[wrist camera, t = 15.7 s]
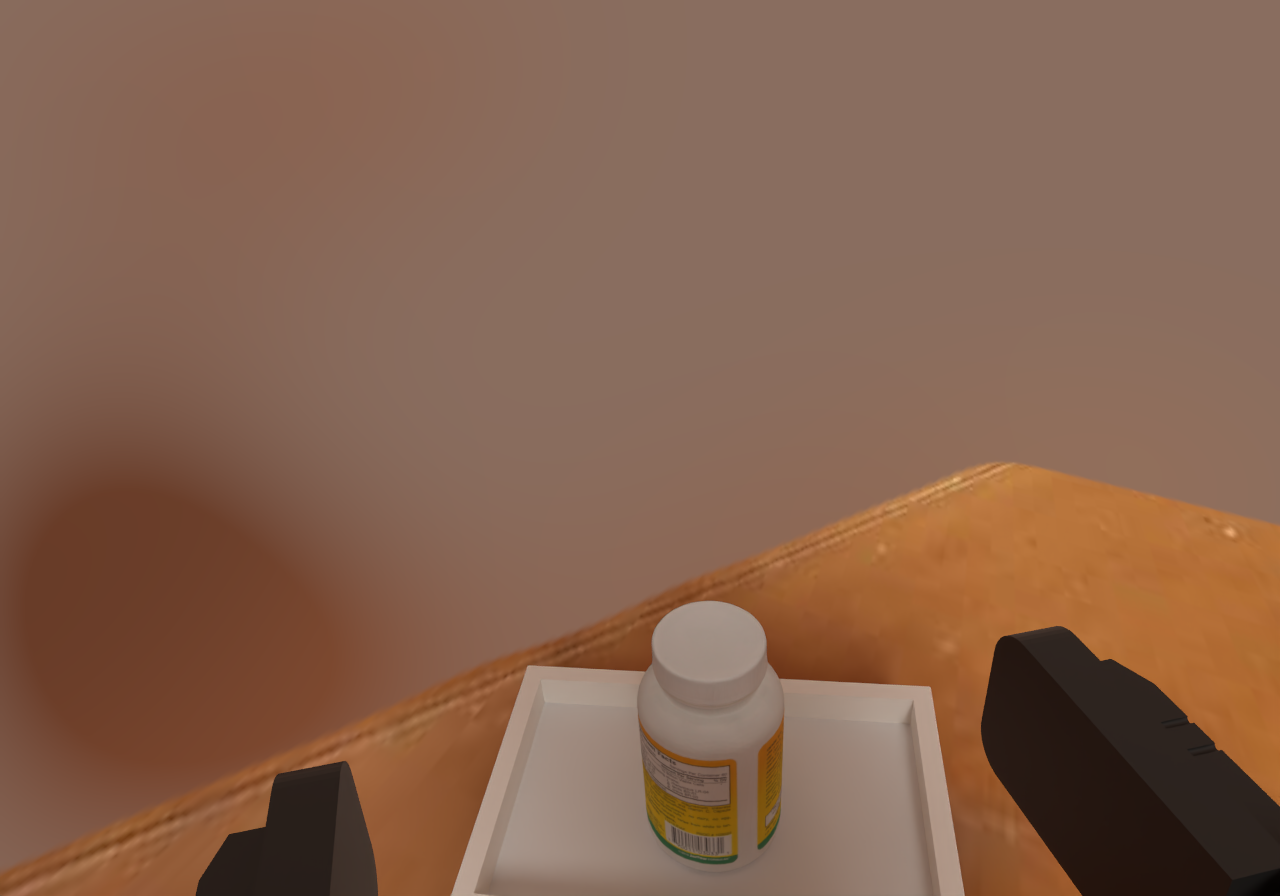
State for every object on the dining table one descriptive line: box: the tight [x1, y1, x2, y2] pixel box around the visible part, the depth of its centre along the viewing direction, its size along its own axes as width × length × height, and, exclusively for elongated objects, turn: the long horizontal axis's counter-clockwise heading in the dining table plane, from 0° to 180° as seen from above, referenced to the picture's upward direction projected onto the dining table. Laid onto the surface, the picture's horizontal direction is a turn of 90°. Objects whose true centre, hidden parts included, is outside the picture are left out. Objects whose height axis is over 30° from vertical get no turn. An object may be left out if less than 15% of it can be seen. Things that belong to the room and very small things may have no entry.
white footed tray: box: [451, 665, 965, 896], centre depth 38 cm, size 18×12×6 cm, turn 82°
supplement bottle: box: [637, 601, 784, 872], centre depth 34 cm, size 5×5×10 cm
